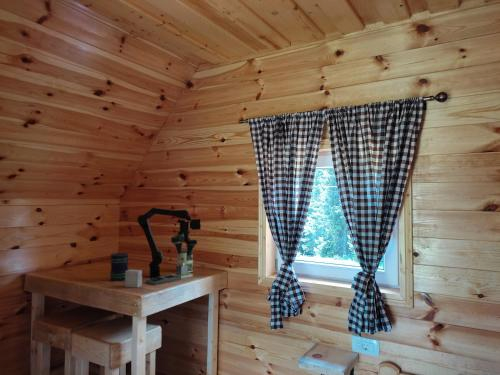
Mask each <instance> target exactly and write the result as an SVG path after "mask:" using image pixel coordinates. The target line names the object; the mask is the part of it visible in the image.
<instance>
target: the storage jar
mask: <svg viewBox="0 0 500 375" xmlns="http://www.w3.org/2000/svg"><path fill="white" fill-rule="evenodd" d="M128 264H129V253H127V252H126V253H125V252H121V253H120V252H119V253H117V252H116V253H112V254H110V281H111V282H114V281H119V282H125V271H127V270H129V269H128V267H129V265H128Z"/></svg>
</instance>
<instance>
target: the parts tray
mask: <svg viewBox="0 0 500 375" xmlns="http://www.w3.org/2000/svg"><path fill="white" fill-rule="evenodd" d="M171 274H172V275H176V273H171ZM176 276H178V275H176ZM193 277H194V274H193V273H191V272H189V273H188V275H184V276H181V280H183V279H188V278H193Z"/></svg>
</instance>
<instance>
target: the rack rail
mask: <svg viewBox="0 0 500 375" xmlns="http://www.w3.org/2000/svg"><path fill="white" fill-rule="evenodd" d="M172 274H173V273H171V274H166V275H162V276H161V277H155V278H151V277H149V278H146V279H145V283H146V284H149V285H153V286H158V285H163V284H167V283H173V282H178V281H181V280H182V279H181V276H176V275H172Z"/></svg>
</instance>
